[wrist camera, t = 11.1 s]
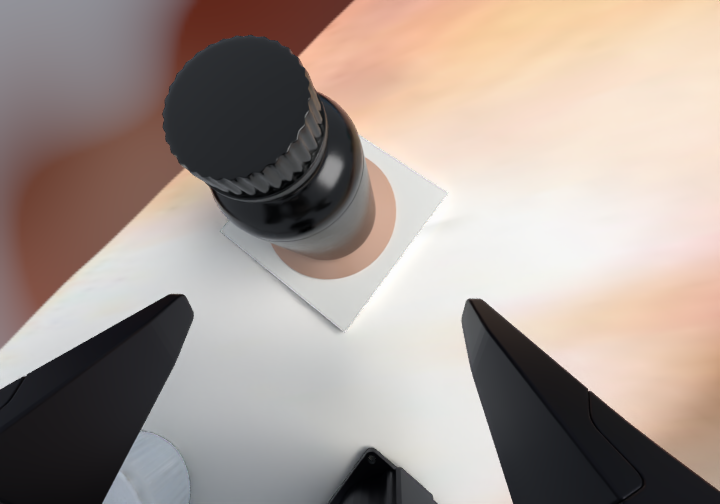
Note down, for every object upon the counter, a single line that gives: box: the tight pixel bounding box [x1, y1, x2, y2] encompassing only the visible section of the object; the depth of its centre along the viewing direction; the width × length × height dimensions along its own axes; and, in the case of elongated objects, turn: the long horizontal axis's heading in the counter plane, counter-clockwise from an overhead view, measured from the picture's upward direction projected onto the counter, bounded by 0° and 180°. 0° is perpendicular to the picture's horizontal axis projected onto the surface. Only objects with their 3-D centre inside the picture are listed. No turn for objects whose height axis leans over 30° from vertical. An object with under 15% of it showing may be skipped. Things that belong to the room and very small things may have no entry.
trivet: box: [220, 134, 448, 332], centre depth 20 cm, size 12×12×1 cm
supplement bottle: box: [162, 35, 376, 260], centre depth 14 cm, size 7×7×12 cm
